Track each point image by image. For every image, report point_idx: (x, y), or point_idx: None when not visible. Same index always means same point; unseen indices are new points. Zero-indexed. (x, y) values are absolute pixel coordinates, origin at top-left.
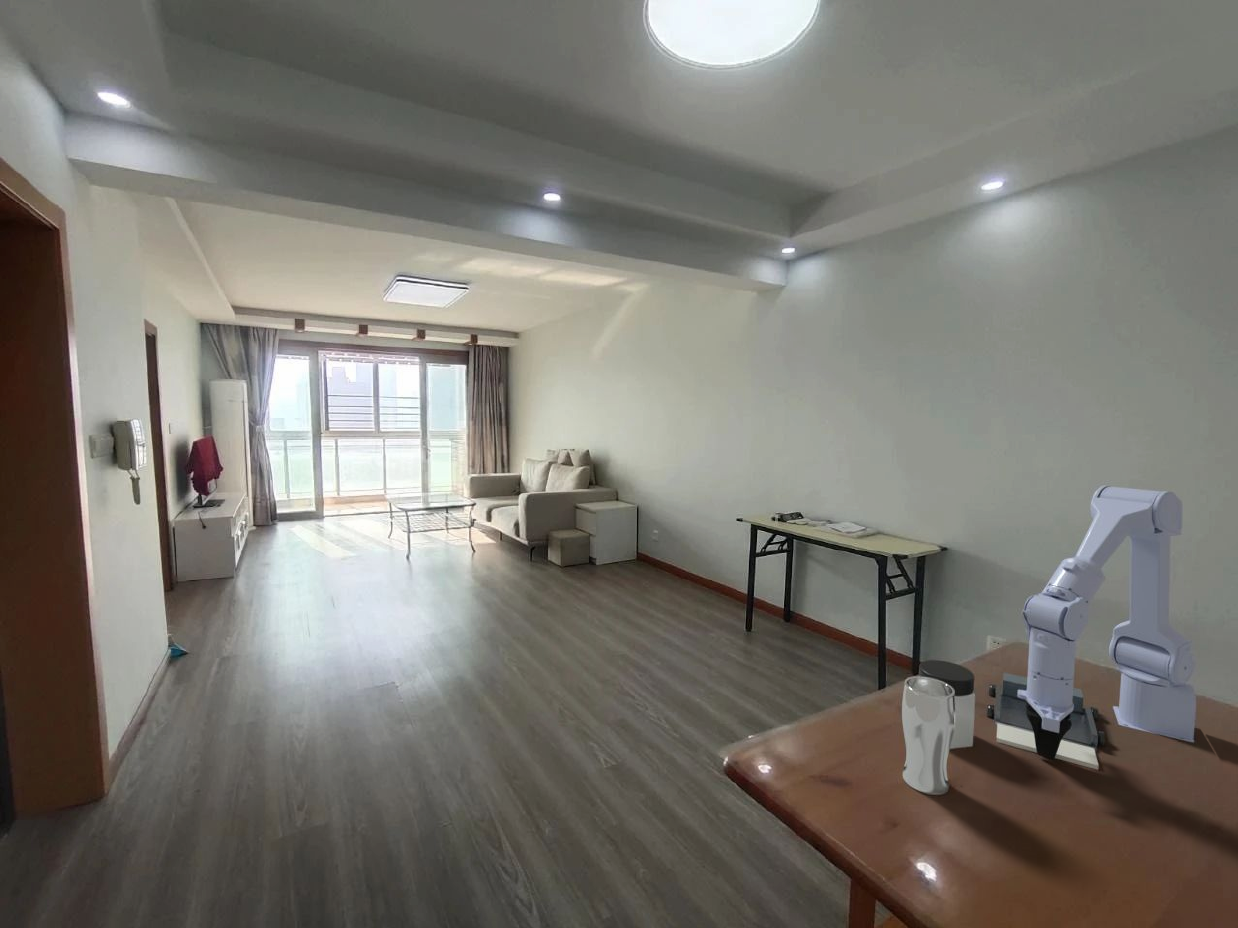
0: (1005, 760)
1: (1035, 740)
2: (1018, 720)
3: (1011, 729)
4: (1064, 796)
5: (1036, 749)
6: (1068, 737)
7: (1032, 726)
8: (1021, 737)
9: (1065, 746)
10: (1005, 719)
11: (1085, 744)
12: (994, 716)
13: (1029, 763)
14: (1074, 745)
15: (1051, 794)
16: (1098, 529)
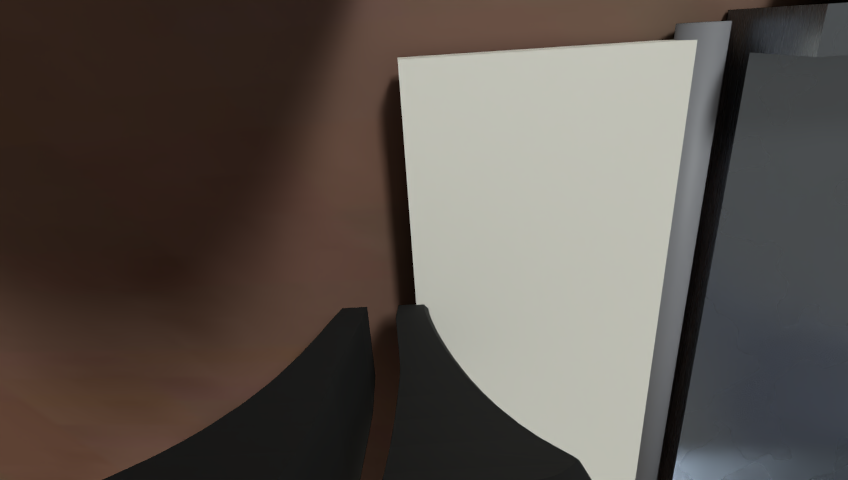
0: (220, 129)
1: (299, 355)
2: (825, 178)
3: (635, 145)
4: (86, 390)
5: (333, 318)
6: (701, 424)
7: (193, 437)
8: (530, 214)
9: (565, 416)
10: (805, 91)
11: (666, 478)
12: (777, 7)
13: (295, 250)
14: (611, 446)
15: (49, 347)
16: None
